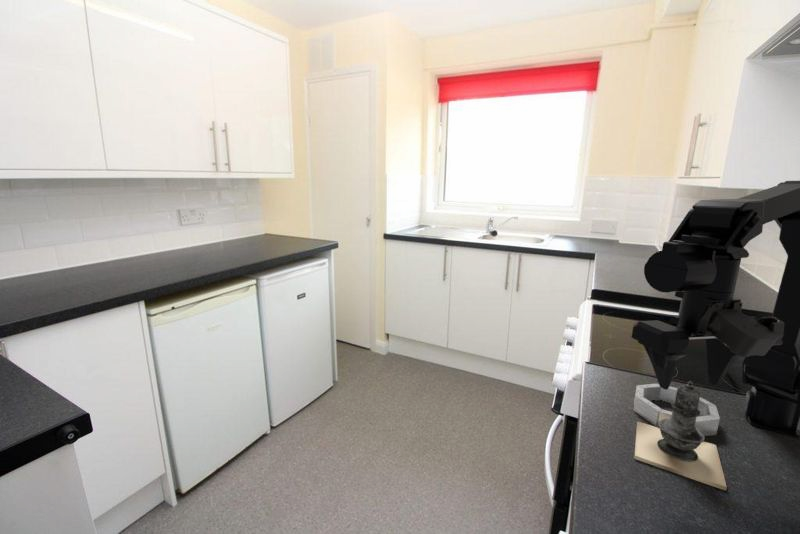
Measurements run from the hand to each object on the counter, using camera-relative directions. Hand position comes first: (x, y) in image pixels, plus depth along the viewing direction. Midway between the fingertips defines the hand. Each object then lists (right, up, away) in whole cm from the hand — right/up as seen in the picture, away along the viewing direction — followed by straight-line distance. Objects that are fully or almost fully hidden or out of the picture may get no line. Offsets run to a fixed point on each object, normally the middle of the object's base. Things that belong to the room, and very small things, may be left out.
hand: (688, 386), depth 58 cm
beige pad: (0, -12, +2) cm, 12 cm away
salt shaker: (0, -11, +2) cm, 11 cm away
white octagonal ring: (+7, -10, +13) cm, 18 cm away
